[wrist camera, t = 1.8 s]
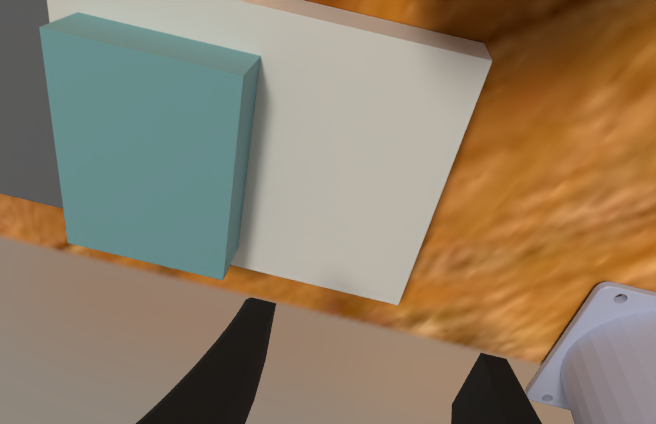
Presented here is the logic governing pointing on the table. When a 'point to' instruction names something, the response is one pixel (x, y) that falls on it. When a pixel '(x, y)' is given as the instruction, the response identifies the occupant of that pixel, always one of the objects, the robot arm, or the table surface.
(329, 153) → the plinth
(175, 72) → the tile
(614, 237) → the table surface
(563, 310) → the table surface
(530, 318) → the table surface
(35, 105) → the mat
